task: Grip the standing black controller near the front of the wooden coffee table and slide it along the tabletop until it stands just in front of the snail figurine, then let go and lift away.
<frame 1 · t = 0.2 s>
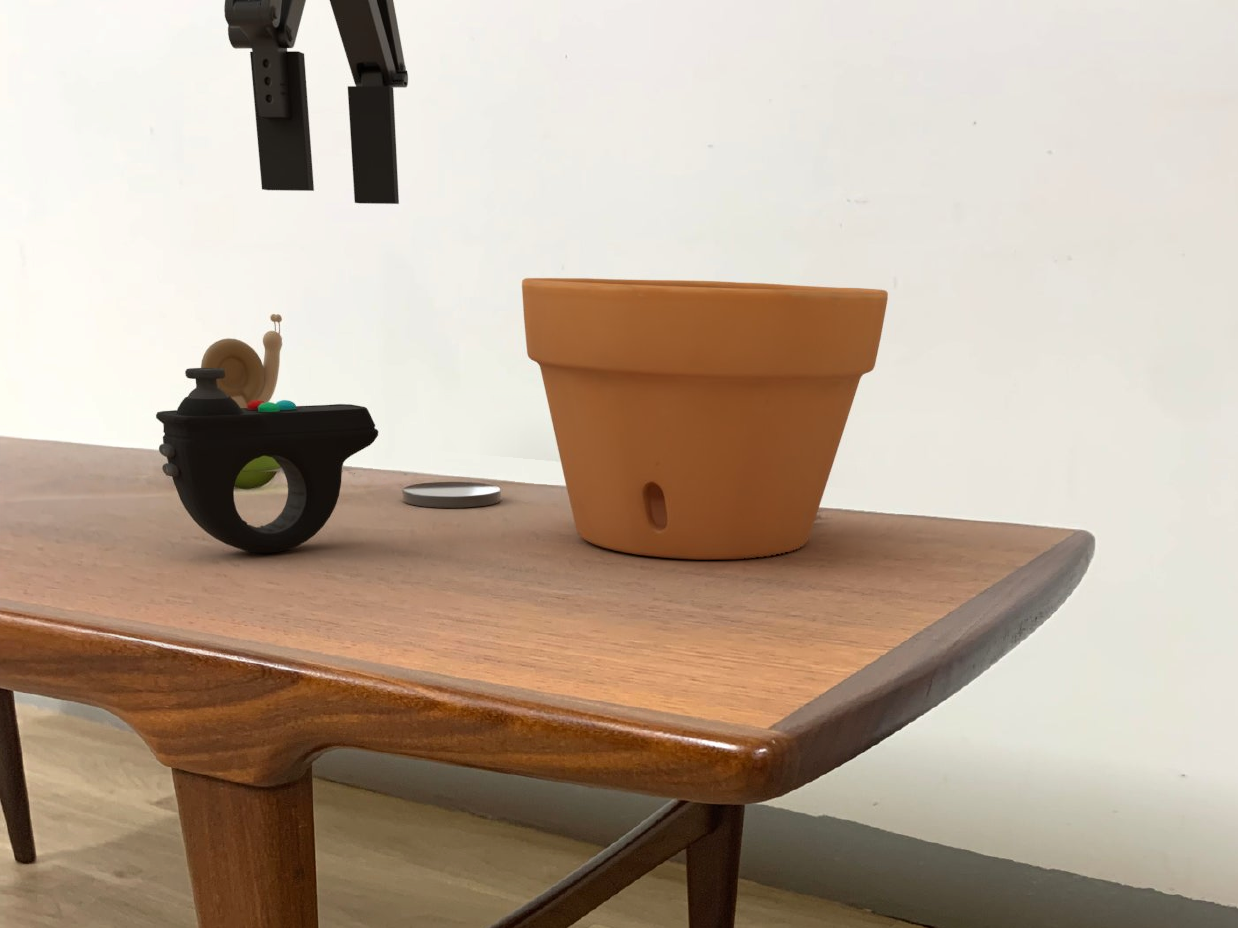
hand: (336, 198, 78), 19 cm above the table, tool pointing down, fingers open, 13 cm apart
controller: (281, 552, 76), on the table
flower pot: (695, 542, 82), on the table
slate coaster: (452, 500, 94), on the table
snail figurine: (254, 490, 98), on the table
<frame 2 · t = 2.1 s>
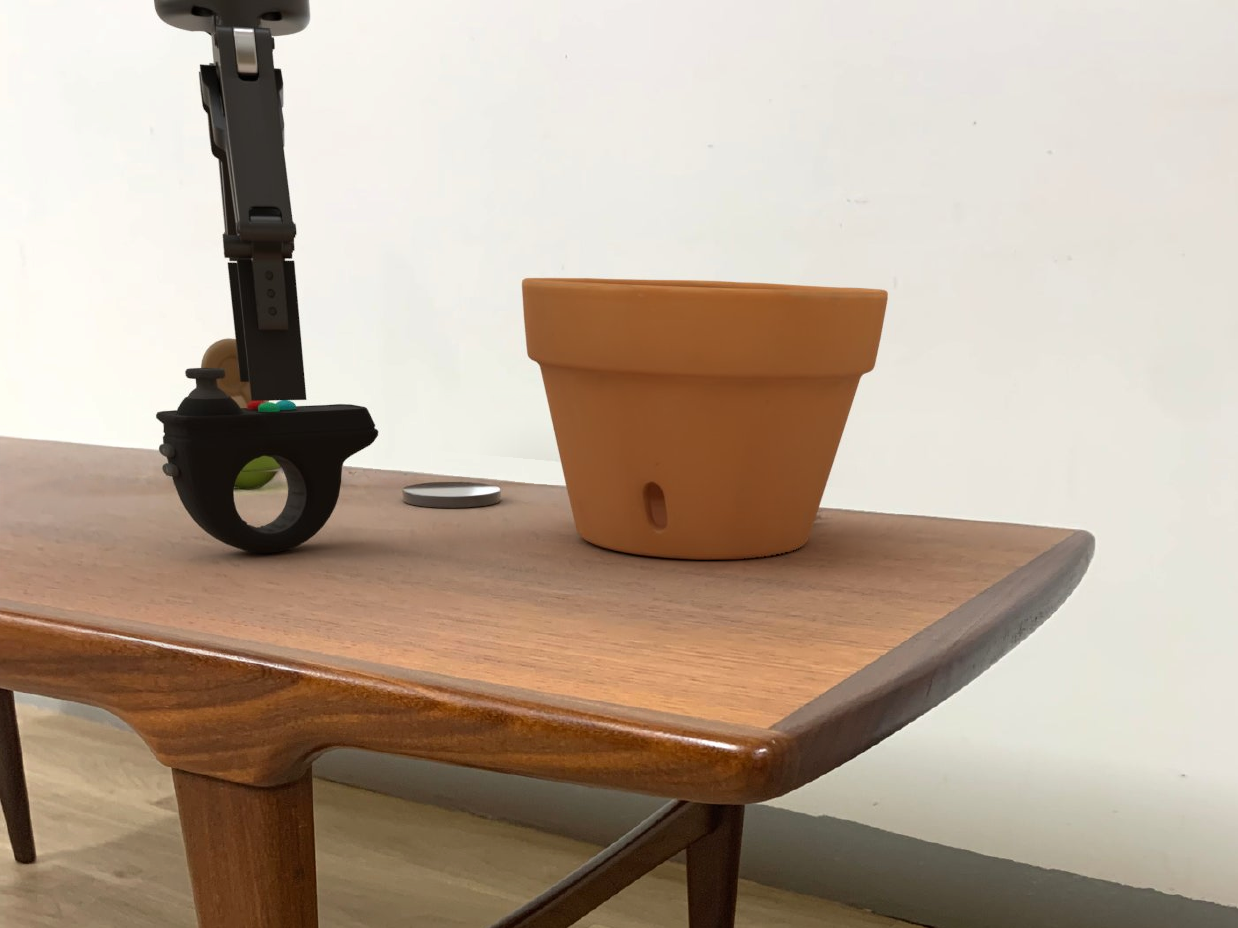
hand: (270, 390, 73), 9 cm above the table, tool pointing down, fingers open, 13 cm apart
nothing on the table moved.
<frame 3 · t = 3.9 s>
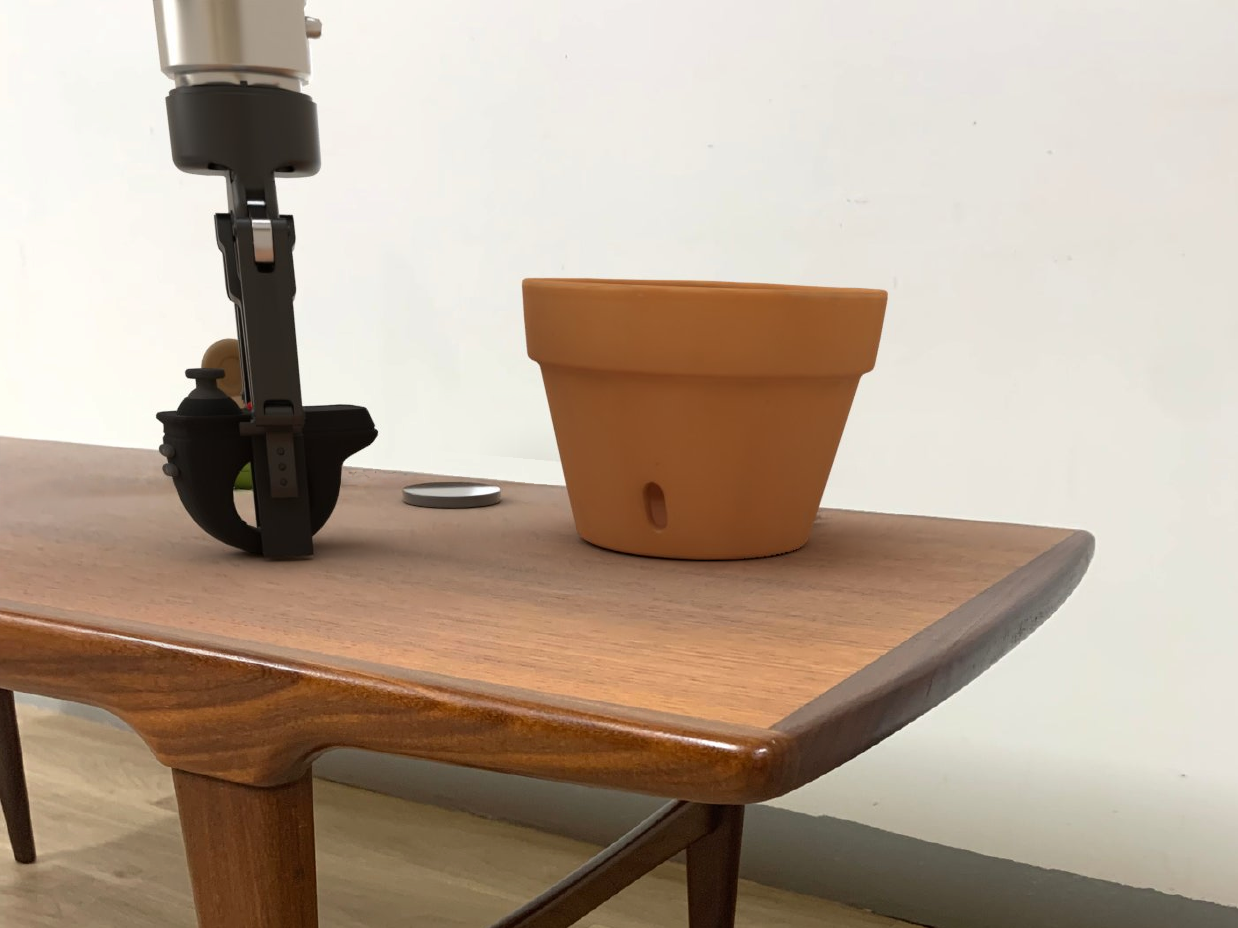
hand: (284, 544, 76), 0 cm above the table, tool pointing down, fingers closed on controller, 5 cm apart
controller: (281, 553, 76), on the table, touching gripper
everything else where it was.
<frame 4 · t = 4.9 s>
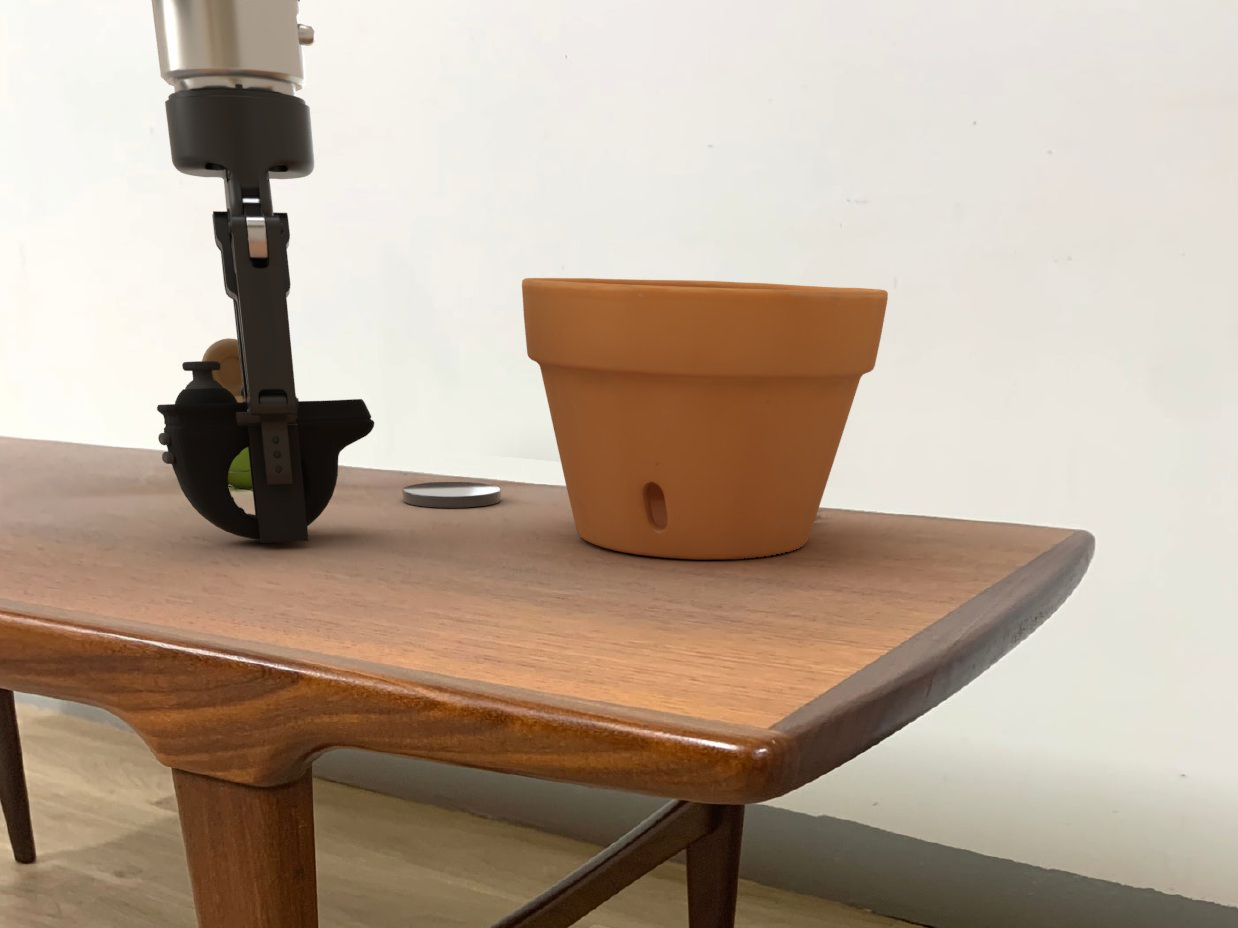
hand: (281, 532, 79), 0 cm above the table, tool pointing down, fingers closed on controller, 5 cm apart
controller: (281, 541, 79), on the table, touching gripper
everything else where it was.
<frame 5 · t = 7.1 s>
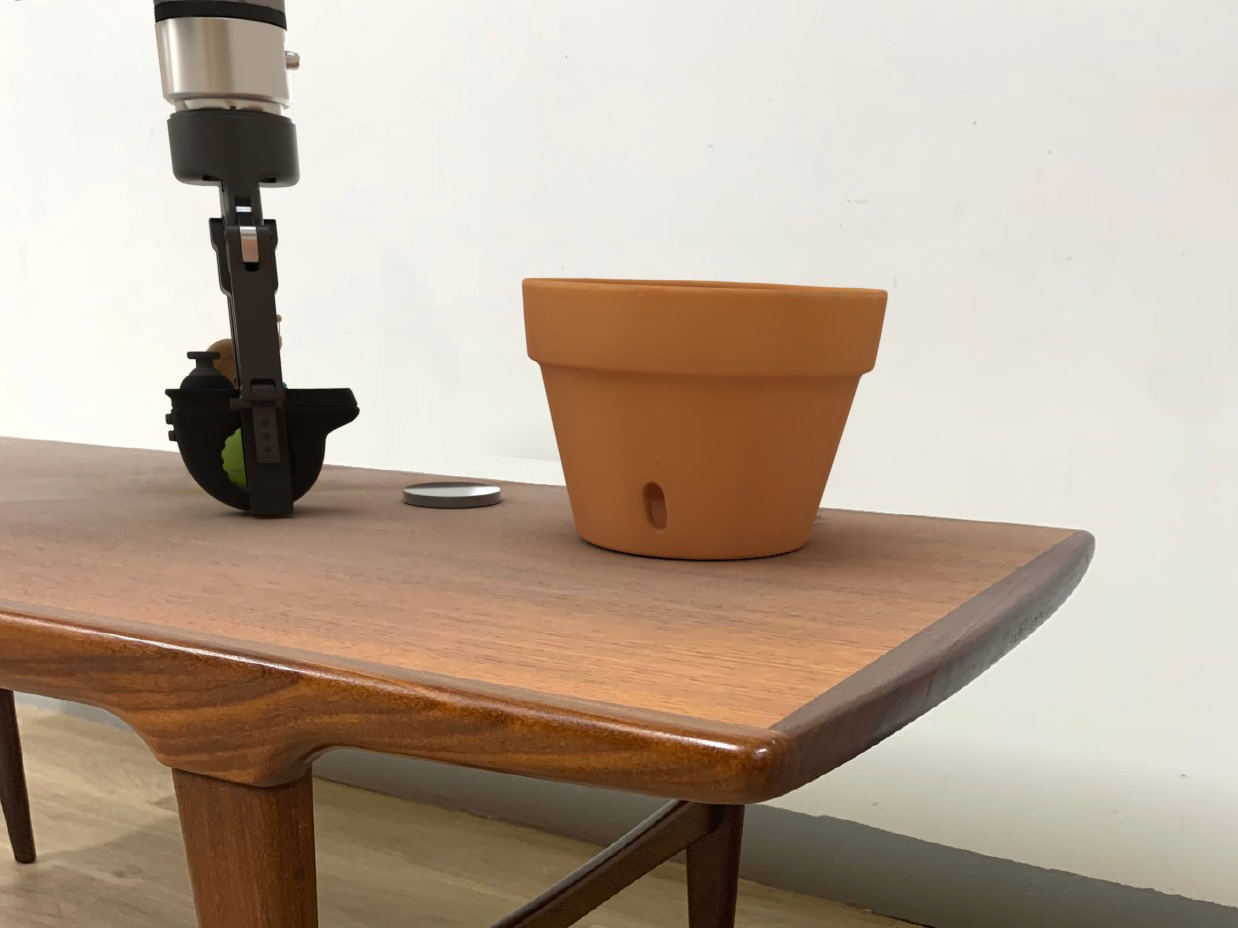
hand: (270, 506, 88), 0 cm above the table, tool pointing down, fingers closed on controller, 4 cm apart
controller: (273, 513, 88), on the table, touching gripper
everything else where it was.
when the fingers open (0 cm above the table, at t = 7.3 s): controller stays where it is, on the table.
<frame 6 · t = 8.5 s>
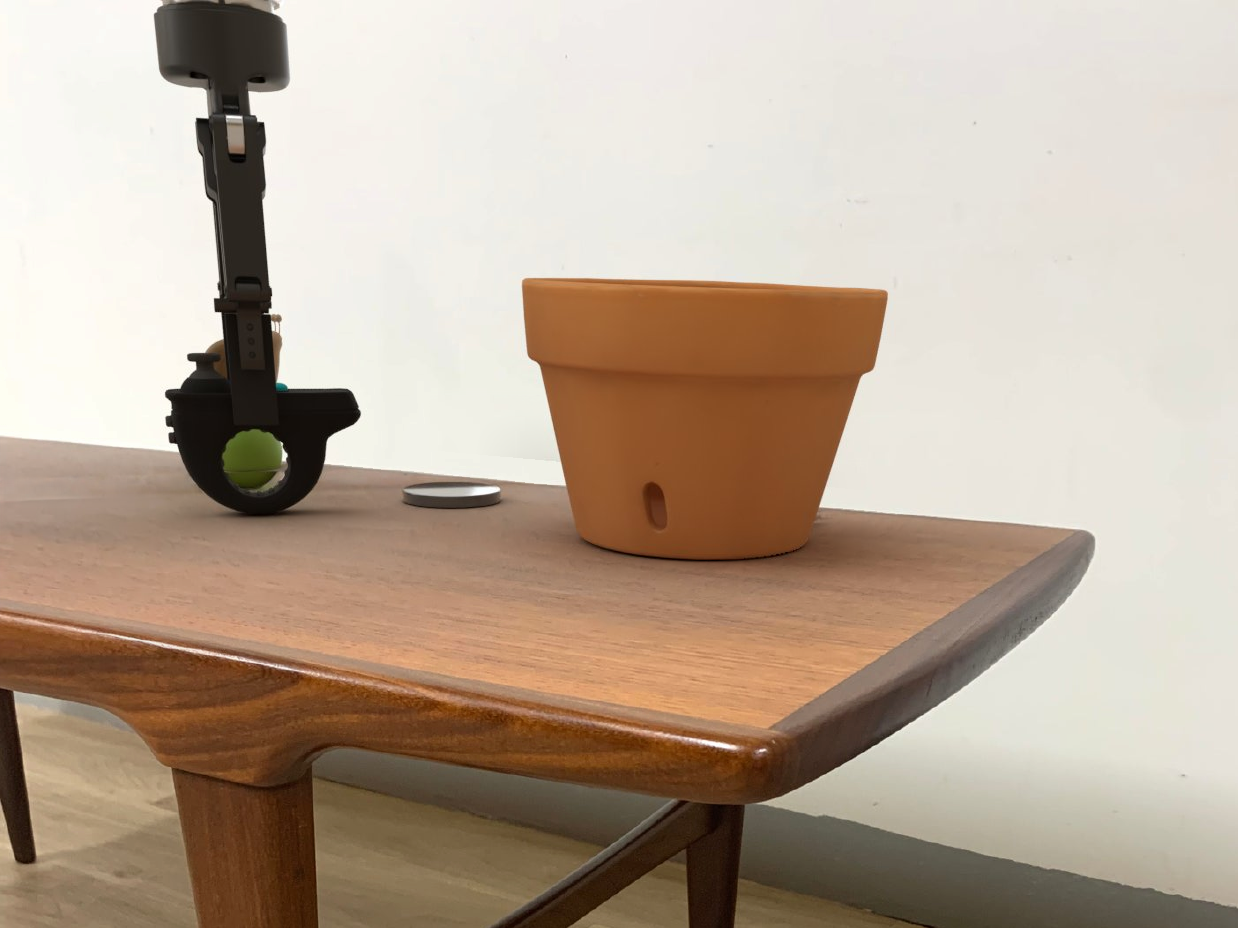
hand: (253, 417, 86), 6 cm above the table, tool pointing down, fingers open, 7 cm apart
controller: (273, 515, 88), on the table
everything else where it was.
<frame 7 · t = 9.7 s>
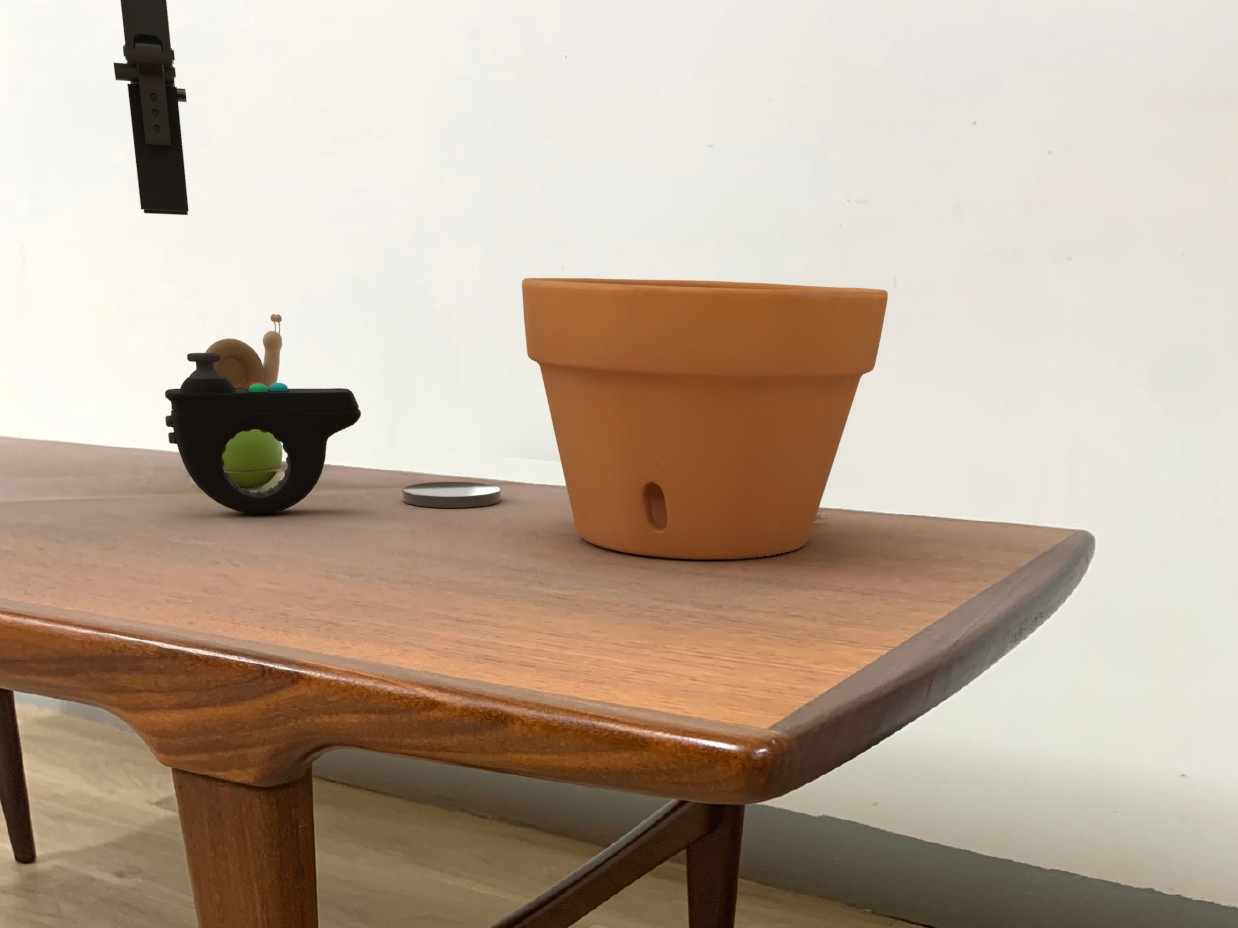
hand: (165, 211, 82), 18 cm above the table, tool pointing down, fingers open, 7 cm apart
nothing on the table moved.
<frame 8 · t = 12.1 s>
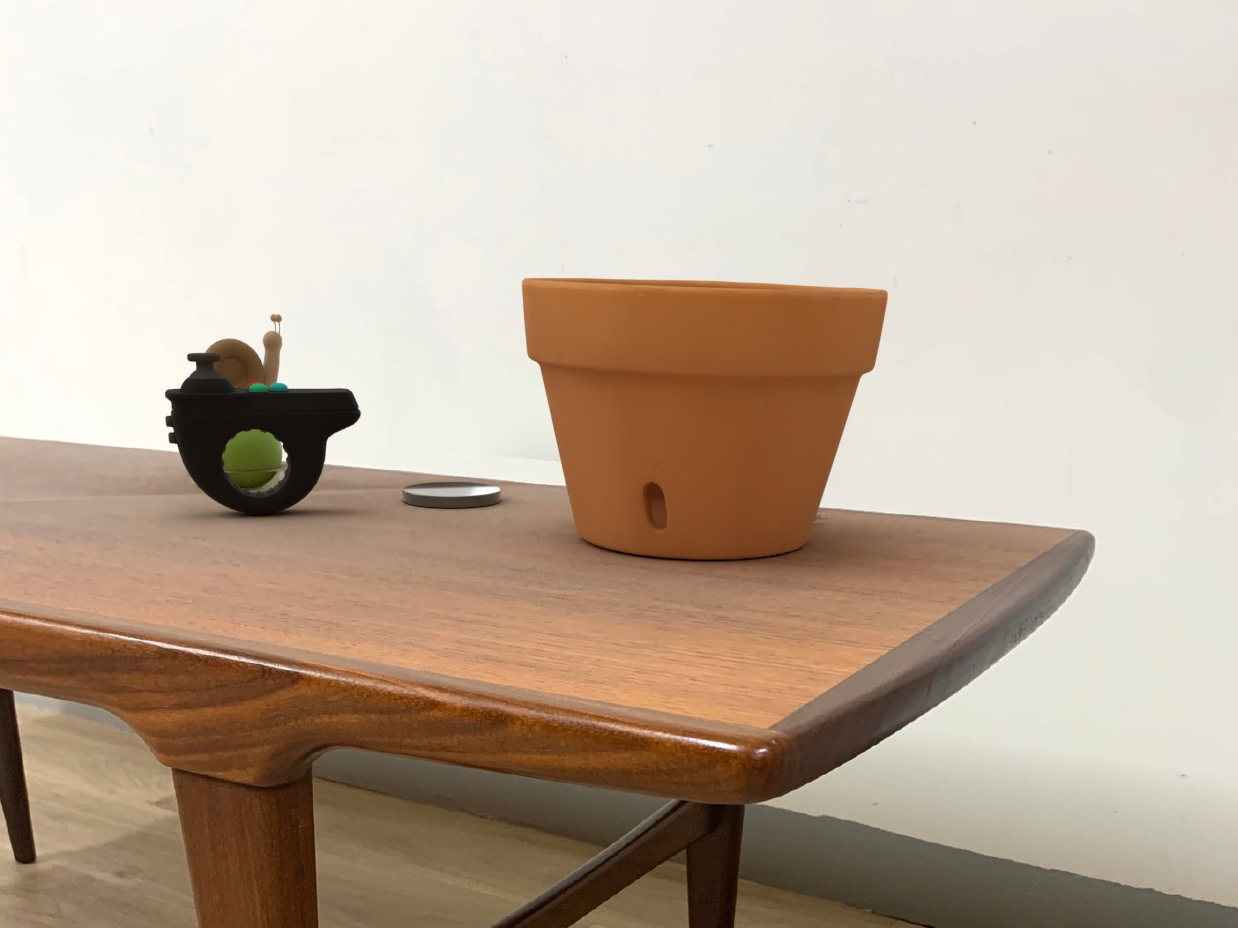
nothing on the table moved.
at the end: controller inside the target area on the table beside the snail figurine (1.9 cm from its centre), on the table; controller tilted 0°; controller moved 13.2 cm from its start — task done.
